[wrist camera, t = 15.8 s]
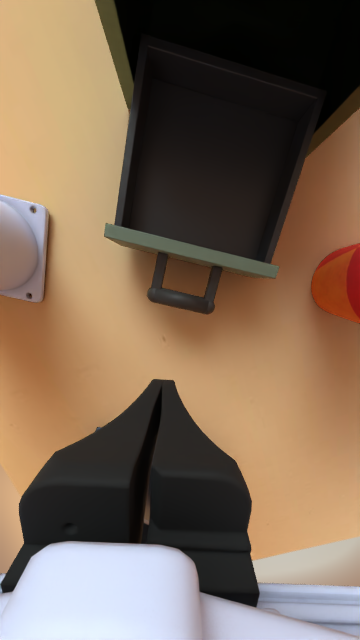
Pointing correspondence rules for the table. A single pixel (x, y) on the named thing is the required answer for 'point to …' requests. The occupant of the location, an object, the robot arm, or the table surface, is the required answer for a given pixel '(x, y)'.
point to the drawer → (209, 164)
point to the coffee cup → (339, 283)
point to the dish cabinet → (251, 42)
